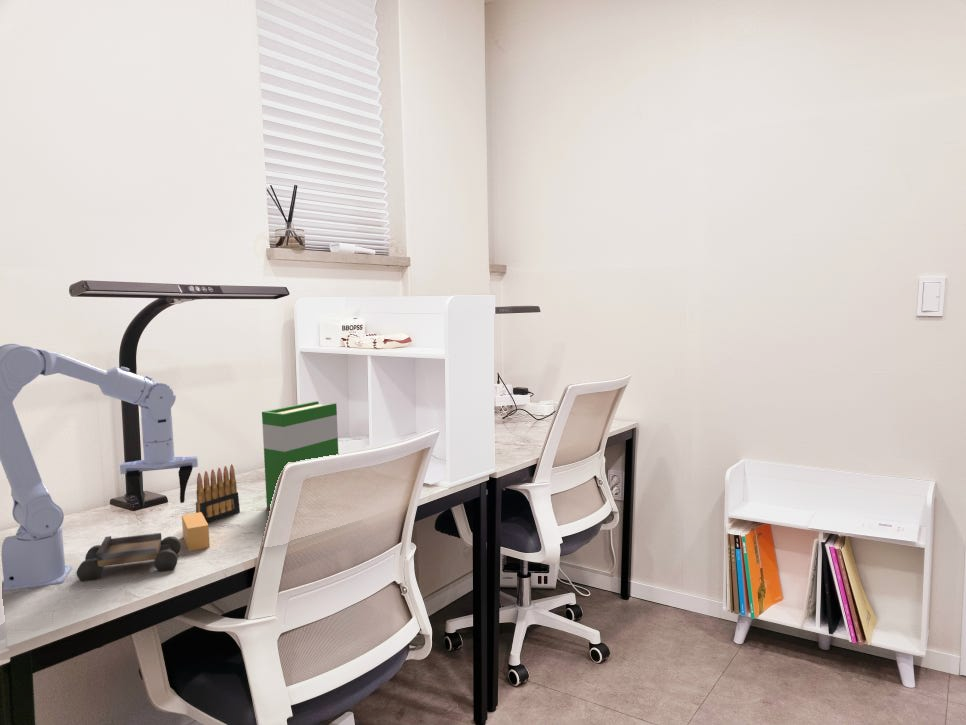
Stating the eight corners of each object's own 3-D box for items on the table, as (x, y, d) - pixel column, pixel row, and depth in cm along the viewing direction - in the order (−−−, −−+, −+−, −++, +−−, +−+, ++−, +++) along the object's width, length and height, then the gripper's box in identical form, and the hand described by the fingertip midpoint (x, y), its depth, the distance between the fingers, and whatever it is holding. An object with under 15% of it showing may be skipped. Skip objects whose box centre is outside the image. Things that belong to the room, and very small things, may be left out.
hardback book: (319, 489, 187) (315, 401, 184) (340, 493, 183) (336, 403, 180) (266, 508, 172) (261, 411, 170) (287, 512, 168) (282, 414, 166)
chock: (189, 552, 145) (187, 528, 144) (183, 537, 153) (181, 515, 153) (209, 548, 147) (208, 525, 146) (202, 533, 155) (201, 512, 155)
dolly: (77, 584, 129) (75, 555, 129) (87, 566, 138) (85, 539, 137) (177, 570, 135) (175, 543, 134) (181, 554, 143) (179, 528, 143)
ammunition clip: (235, 511, 170) (232, 462, 169) (240, 512, 169) (237, 463, 168) (196, 524, 162) (192, 473, 160) (201, 525, 161) (197, 474, 159)
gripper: (115, 446, 139) (120, 513, 140) (194, 440, 143) (198, 505, 145) (121, 439, 145) (126, 503, 147) (196, 433, 150) (200, 495, 151)
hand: (162, 503), depth 146 cm, fingers open, 7 cm apart
